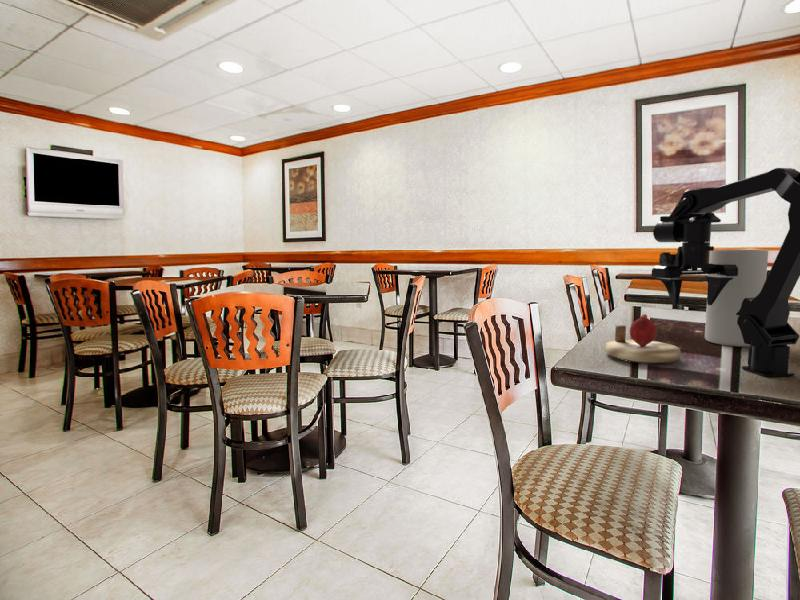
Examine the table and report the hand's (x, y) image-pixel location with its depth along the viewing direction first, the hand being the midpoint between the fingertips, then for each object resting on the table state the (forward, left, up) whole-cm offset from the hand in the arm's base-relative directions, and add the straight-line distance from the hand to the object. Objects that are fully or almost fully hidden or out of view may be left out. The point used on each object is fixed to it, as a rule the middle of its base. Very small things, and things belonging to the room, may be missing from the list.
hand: (692, 305), depth 113 cm
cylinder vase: (+9, -19, -12) cm, 24 cm away
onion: (-2, +14, -10) cm, 17 cm away
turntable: (-2, +14, -12) cm, 19 cm away
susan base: (-2, +14, -12) cm, 19 cm away
